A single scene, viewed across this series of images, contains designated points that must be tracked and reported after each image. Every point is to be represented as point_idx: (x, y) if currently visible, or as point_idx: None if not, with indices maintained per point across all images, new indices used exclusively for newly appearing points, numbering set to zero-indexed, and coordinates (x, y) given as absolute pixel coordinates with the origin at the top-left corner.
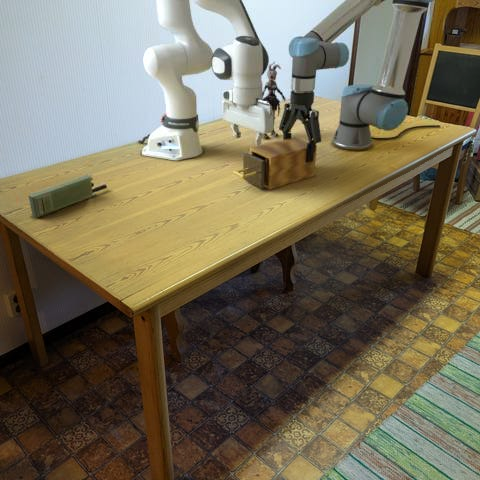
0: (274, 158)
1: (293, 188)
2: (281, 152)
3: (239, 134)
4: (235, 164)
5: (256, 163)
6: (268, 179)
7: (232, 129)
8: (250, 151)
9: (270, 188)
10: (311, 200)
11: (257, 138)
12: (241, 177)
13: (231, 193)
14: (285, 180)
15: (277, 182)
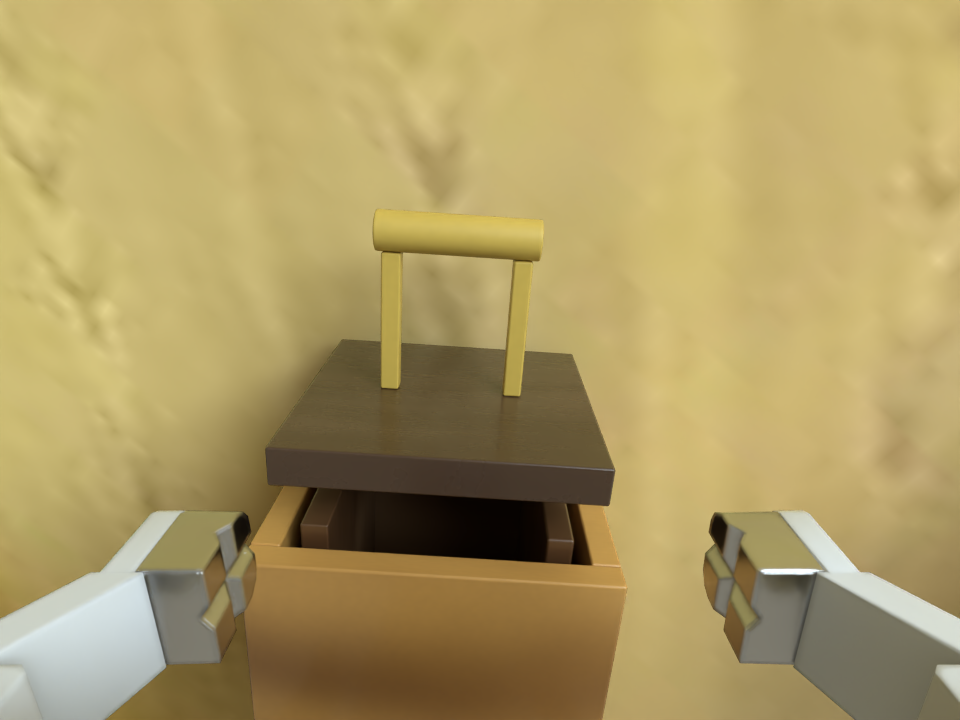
0: None
1: (260, 521)
2: (299, 713)
3: (730, 604)
4: (851, 511)
5: (373, 429)
6: None
7: (925, 604)
8: (608, 559)
9: None
10: (44, 479)
11: (43, 600)
12: (393, 210)
13: (451, 117)
14: None
15: None
